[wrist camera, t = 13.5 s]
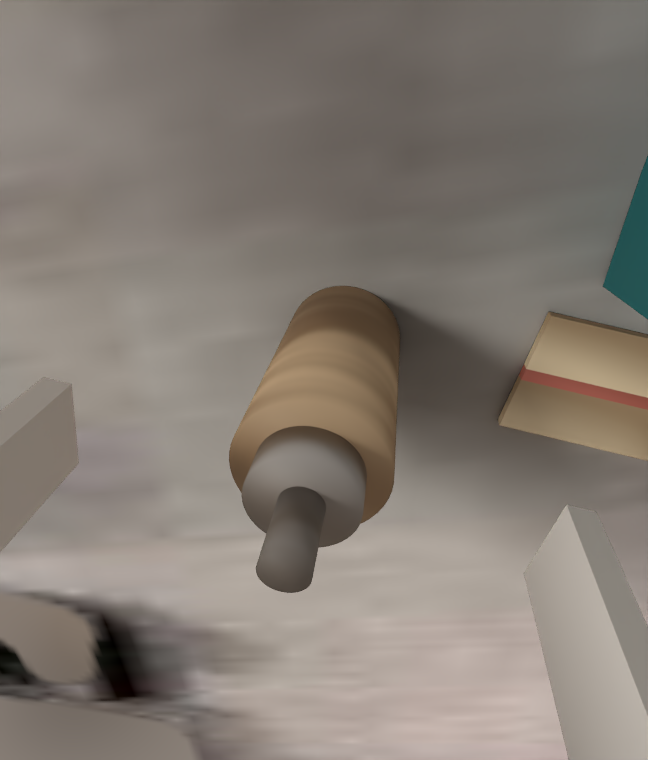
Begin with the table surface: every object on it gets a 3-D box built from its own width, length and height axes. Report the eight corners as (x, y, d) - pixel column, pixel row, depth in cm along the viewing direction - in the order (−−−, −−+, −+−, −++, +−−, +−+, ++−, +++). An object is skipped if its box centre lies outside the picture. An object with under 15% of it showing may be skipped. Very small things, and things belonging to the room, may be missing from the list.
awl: (299, 274, 19) (186, 472, 9) (413, 301, 19) (416, 529, 9) (283, 371, 21) (179, 609, 12) (384, 396, 21) (362, 656, 12)
